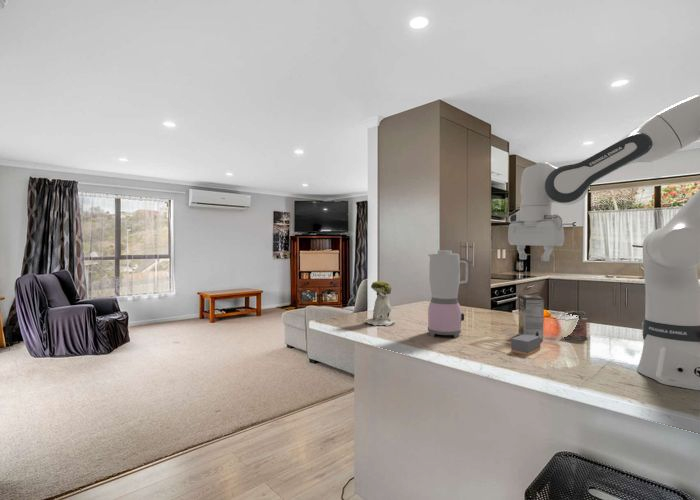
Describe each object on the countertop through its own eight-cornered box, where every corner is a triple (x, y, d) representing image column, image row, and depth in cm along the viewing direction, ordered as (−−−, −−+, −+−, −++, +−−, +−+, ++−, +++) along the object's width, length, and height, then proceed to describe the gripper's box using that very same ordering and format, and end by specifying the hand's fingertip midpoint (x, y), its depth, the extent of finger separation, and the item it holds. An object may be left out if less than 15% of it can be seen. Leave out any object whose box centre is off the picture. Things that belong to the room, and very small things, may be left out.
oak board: (551, 354, 116) (552, 349, 116) (533, 364, 106) (533, 358, 106) (485, 340, 132) (485, 336, 132) (464, 348, 123) (464, 343, 123)
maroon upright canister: (563, 339, 134) (564, 311, 134) (560, 336, 138) (561, 309, 138) (588, 340, 132) (589, 312, 132) (585, 338, 136) (585, 310, 136)
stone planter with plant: (364, 320, 167) (364, 279, 167) (393, 320, 167) (393, 279, 167) (365, 326, 155) (365, 282, 155) (396, 326, 155) (396, 282, 155)
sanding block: (540, 349, 116) (540, 336, 116) (528, 355, 110) (528, 341, 110) (524, 346, 120) (524, 333, 119) (511, 351, 114) (511, 338, 113)
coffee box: (517, 337, 136) (518, 294, 136) (536, 338, 135) (536, 294, 135) (524, 344, 127) (524, 297, 127) (544, 345, 126) (544, 298, 126)
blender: (428, 337, 136) (428, 250, 136) (426, 330, 148) (426, 250, 148) (472, 339, 134) (473, 250, 133) (467, 331, 146) (467, 250, 145)
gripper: (570, 214, 107) (569, 262, 107) (520, 218, 127) (519, 258, 127) (552, 213, 105) (551, 262, 106) (505, 217, 125) (503, 258, 125)
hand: (533, 260), depth 116 cm, fingers open, 8 cm apart
